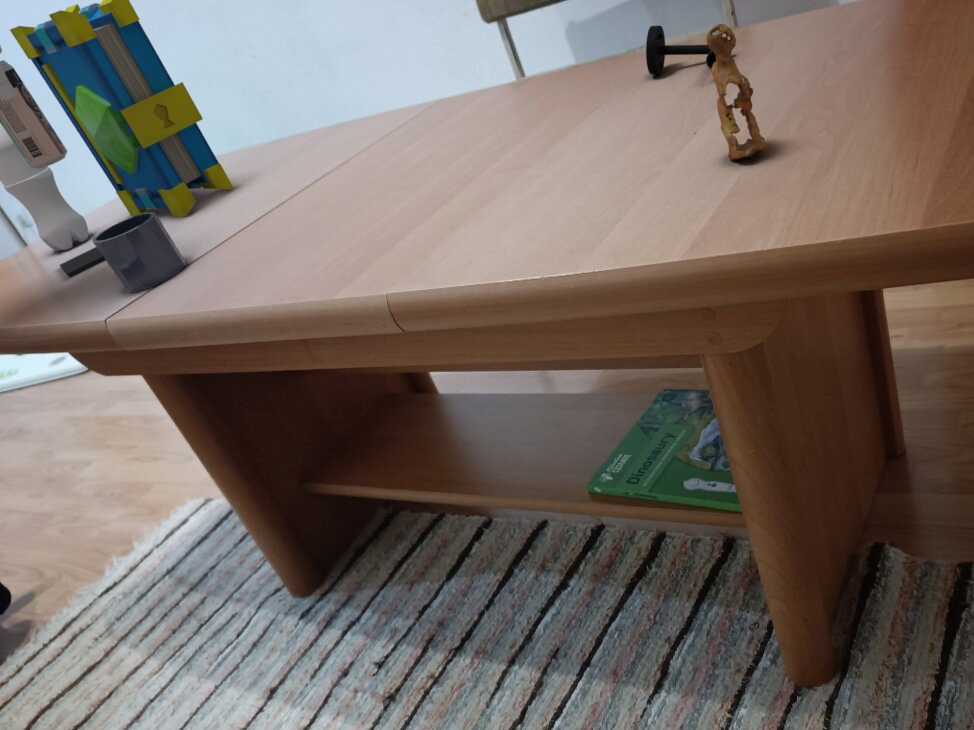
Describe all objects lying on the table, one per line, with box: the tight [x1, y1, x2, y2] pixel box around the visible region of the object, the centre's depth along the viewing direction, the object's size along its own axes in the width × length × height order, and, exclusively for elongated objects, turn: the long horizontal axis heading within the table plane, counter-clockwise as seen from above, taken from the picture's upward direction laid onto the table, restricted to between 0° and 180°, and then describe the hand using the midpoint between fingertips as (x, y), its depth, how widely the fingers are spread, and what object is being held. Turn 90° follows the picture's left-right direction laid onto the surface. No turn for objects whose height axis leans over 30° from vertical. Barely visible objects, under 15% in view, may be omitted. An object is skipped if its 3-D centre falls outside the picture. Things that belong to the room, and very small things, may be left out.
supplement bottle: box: [0, 59, 68, 169], centre depth 107 cm, size 5×5×12 cm
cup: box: [91, 211, 187, 293], centre depth 110 cm, size 8×8×7 cm
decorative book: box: [9, 0, 235, 218], centre depth 134 cm, size 14×23×30 cm, turn 53°
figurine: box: [706, 23, 768, 161], centre depth 80 cm, size 5×6×12 cm
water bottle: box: [0, 123, 89, 252], centre depth 135 cm, size 7×7×25 cm
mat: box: [59, 246, 105, 278], centre depth 129 cm, size 8×8×1 cm
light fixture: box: [645, 25, 716, 76], centre depth 111 cm, size 6×11×13 cm
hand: (8, 98), depth 106 cm, fingers closed on supplement bottle, 5 cm apart
